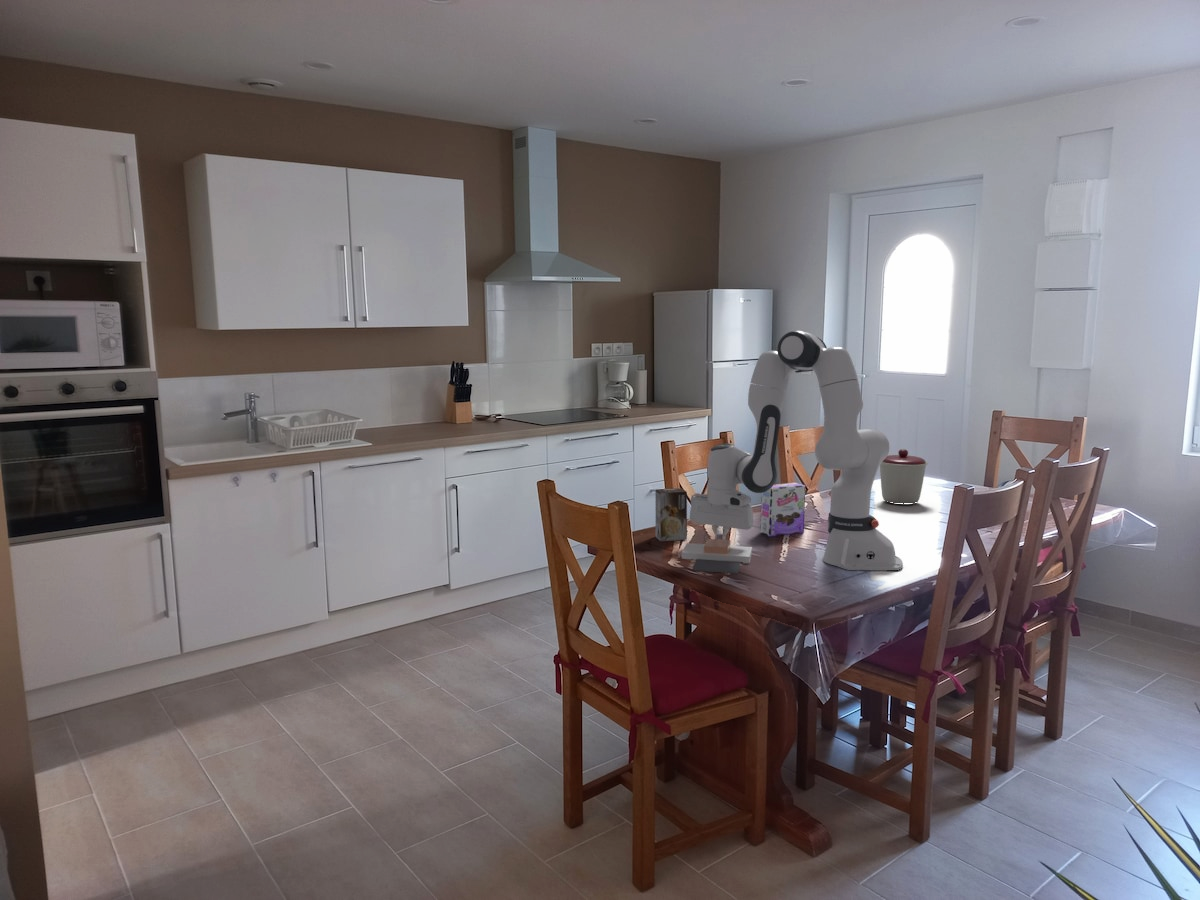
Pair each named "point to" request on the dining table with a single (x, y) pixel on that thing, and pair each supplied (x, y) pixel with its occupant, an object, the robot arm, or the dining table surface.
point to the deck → (733, 555)
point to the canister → (902, 477)
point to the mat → (716, 566)
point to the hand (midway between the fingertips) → (720, 539)
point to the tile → (717, 546)
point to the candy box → (783, 509)
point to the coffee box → (671, 514)
